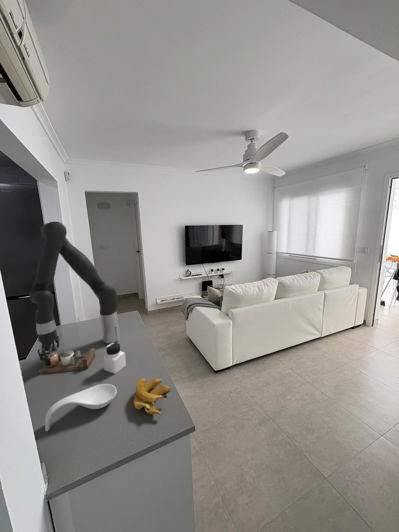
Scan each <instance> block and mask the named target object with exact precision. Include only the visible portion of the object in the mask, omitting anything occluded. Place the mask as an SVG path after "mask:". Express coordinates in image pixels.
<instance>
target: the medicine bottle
mask: <svg viewBox="0 0 399 532" xmlns="http://www.w3.org/2000/svg"><path fill="white" fill-rule="evenodd" d="M105 349H106V354H105V355H104V356H103V357H102V360H103V368H104V369H103V370H104V371H106V372H109V373H112V374H114V375H116V374H117V373H118V372H120V371H121V370H122V369H124V368H125V367H126V365H127V363H126V362H127V361H126V353H125V351H121V345H120V343H119V342H113V343H108V345H106V348H105Z"/></svg>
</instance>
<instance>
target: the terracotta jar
mask: <svg viewBox="0 0 399 532" xmlns="http://www.w3.org/2000/svg"><path fill="white" fill-rule="evenodd" d="M46 355H47V356H48V354H46ZM58 357H59V355H58V351H57V352H56V351H55V350H52V351H51V353H50V361H51V365H50V366H45V365H44V366H45V367H46V368H51V367H54V366H56V365H57V364H58V363H59V360H58ZM43 361H44V360H43ZM44 363H45V361H44Z"/></svg>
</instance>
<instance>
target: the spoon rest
mask: <svg viewBox="0 0 399 532" xmlns="http://www.w3.org/2000/svg"><path fill="white" fill-rule="evenodd" d="M116 395H117V387H116V386H115V385H113V384H110V383H101V384H97V385H96V384H95V385H94V386H91V387H89V388H86V389H84V390H81V391H78V392H76V393H75V392H74V393H73V394H70V395H67V396H65V397H64V398H61V399H59V400H58V401H57V402H54V404H53V405H52V406H50V408H49V409H48V410H47V412H46V415H45V417H44V427H45V429H44V430H45V431H46V432H48V431H49V430H50V428H51V418H52V417H53V415H54V414H55V413H56V412H57V411H58V410H59V409H61V408H63V407H65V406H66V405H70V404H71V405H72V404H73V405H79V406H82V407H85V408H87V409H90V410H99V409H102V408H104V407H106V406H108V405H110V403H112V401H113V400H114V399H115V397H116Z"/></svg>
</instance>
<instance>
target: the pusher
mask: <svg viewBox="0 0 399 532" xmlns="http://www.w3.org/2000/svg"><path fill="white" fill-rule="evenodd" d="M80 359H81V350H77V351H75V352H74V354H73V357H72V366H76V365H77V364H78V362H79V361H80Z"/></svg>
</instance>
